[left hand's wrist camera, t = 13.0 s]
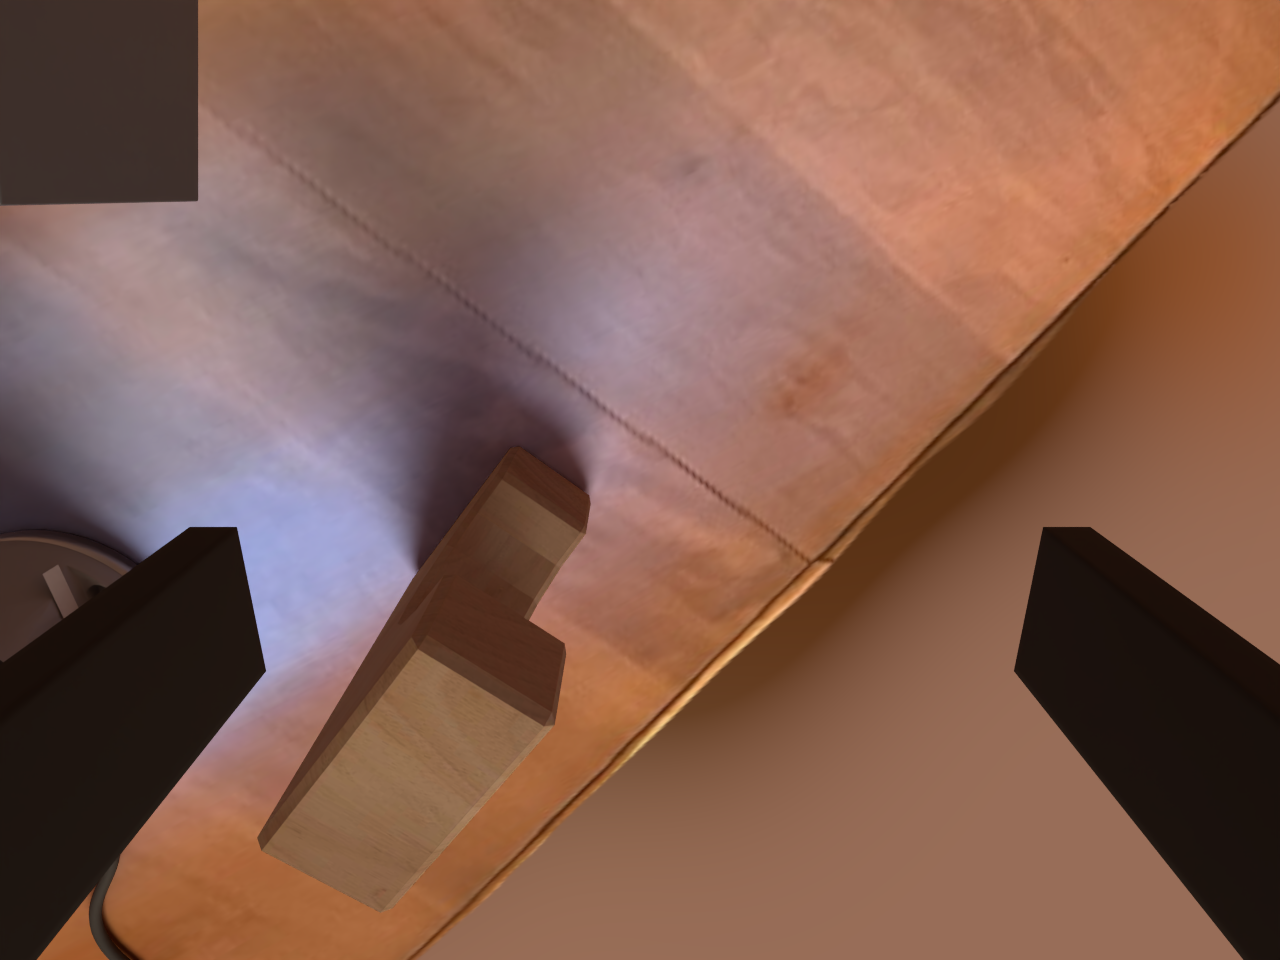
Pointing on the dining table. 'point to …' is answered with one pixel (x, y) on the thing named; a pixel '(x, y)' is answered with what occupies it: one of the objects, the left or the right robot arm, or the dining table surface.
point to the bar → (98, 101)
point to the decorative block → (438, 696)
